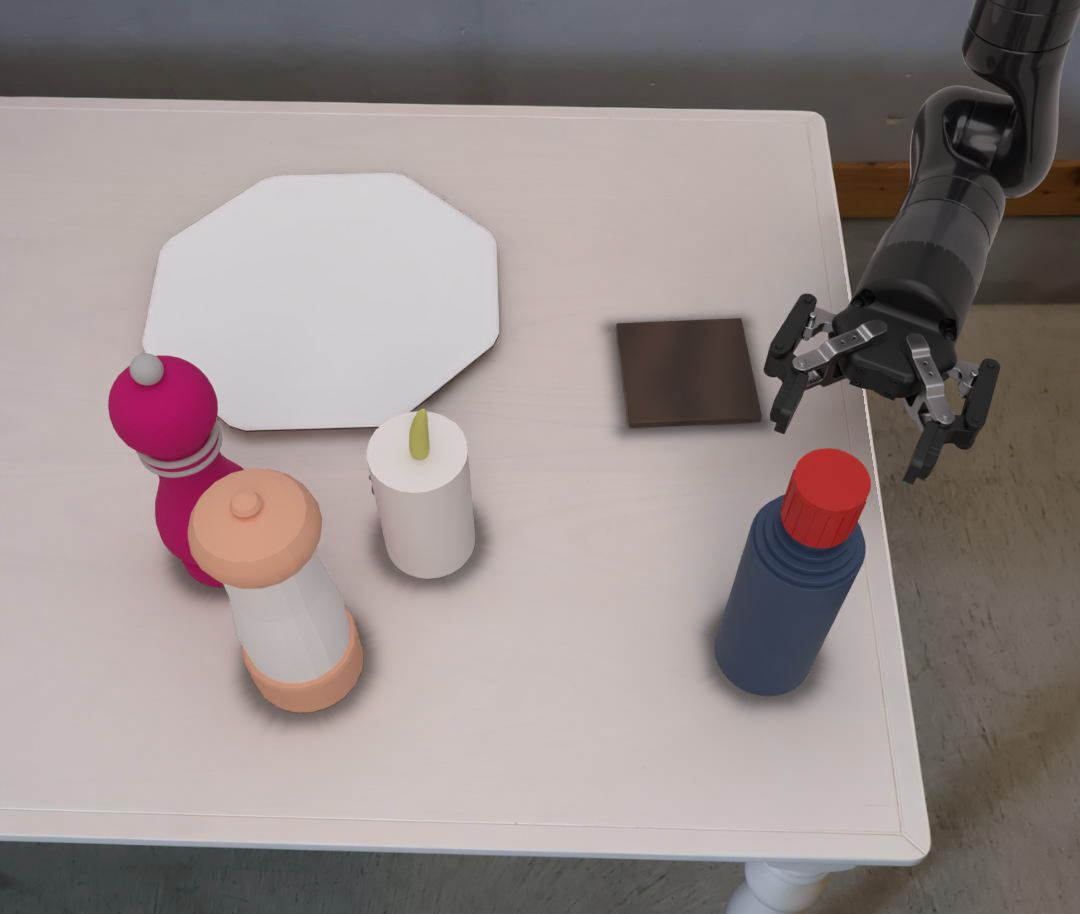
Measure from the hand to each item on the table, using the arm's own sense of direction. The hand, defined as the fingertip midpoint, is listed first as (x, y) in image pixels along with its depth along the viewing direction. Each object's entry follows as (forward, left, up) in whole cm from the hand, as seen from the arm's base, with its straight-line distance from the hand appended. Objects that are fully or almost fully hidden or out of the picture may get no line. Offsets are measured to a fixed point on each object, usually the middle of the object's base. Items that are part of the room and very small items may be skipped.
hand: (845, 450), depth 69 cm
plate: (+35, -24, -10) cm, 44 cm away
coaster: (+7, -15, -10) cm, 20 cm away
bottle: (+5, +9, -10) cm, 14 cm away
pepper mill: (+41, -1, -10) cm, 42 cm away
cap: (+5, +9, +6) cm, 12 cm away
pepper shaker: (+35, +8, -10) cm, 37 cm away
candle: (+27, -1, -10) cm, 29 cm away
